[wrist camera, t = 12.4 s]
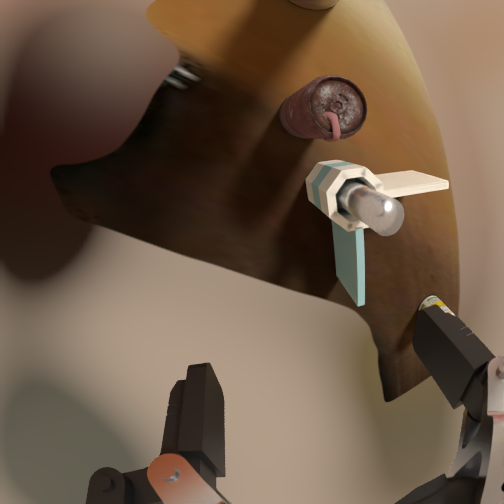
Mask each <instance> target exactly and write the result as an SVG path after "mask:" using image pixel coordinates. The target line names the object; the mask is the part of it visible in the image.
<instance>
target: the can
mask: <svg viewBox="0 0 504 504" xmlns="http://www.w3.org/2000/svg"><path fill="white" fill-rule="evenodd" d="M366 115H367V104H366V100H365V97H364V95H363V93H362V92H361V90H360V89H359V88H358V87H357V85H355V84H354V83H352V82H351V81H350V80H348V79H346V78H343V77H341V76H338V75H324V76H321V77H318V78H316V79H315V80H313V81H312V82H310V83H308V84H307V85H306V86H304V87H303V88H301V89H300V90H298V91H297V92H295V93H294V94H292V95H291V96H290V97H288V98H287V99H286V100H285V101H284V102H283V104H282V105H281V107H280V112H279V117H280V122H281V124H282V126H283V128H284V129H285V130H286V131H287V132H288V133H289V134H291V135H293V136H294V137H298V138H316V139H324V140H325V141H328V142H334V141H337V140H338V139H345V138H348V137H350V136H353V135H354V134H355V133H356V132H357V131H359V130H360V128H361V127H362V125H363V123H364V121H365V119H366Z"/></svg>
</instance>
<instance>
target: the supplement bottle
mask: <svg viewBox="0 0 504 504" xmlns="http://www.w3.org/2000/svg"><path fill="white" fill-rule="evenodd" d="M434 304H436V305H438V306H439V307H440V308H441V309H442V310H443V311H444V312H445V313H447V312H448V313H450V314H452V315H454V314H453V313H452V312H451V311H450V310H449V309H448V308H447V307H446V306H445V305H444V304H443V303H442V302H441V301H440V300H439V299H438V298H437V297H436V296H429V297H427V298H426V299H425V300H424V301H423V302H422V303H421V305H420V307H419V310H421V309H423V308H426V307H429V306H431V305H434ZM454 316H455V315H454Z"/></svg>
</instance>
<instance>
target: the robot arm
mask: <svg viewBox="0 0 504 504" xmlns="http://www.w3.org/2000/svg"><path fill="white" fill-rule="evenodd" d="M289 1H291V2H292V3H294V4H296V5H298V6H300V7H303V8H307V9H312V10H324V9H328V8H330V7H332V6H334V5H335V4H336V3H337V2H338V1H339V0H289ZM413 348H414V350H415V353H416V354H417V355H418V357H419V358H420V360H421V361H422V363H423V364H424V365H425V367H426V368H427V370H428V371H429V373H430V374H431V376H432V377H433V379H434V380H435V381H436V383H437V384H438V386H439V387H440V389H441V390H442V392H443V394H444V395H445V397H446V398H447V400H448V401H449V403H450V404H451V406H452V407H453V409H455V408H457V407H459V406H460V405H462V404H463V405H464V406H465V410H464V413H463V420H462V427H461V433H460V439H459V445H458V450H457V453H456V456H455V459H454V460H453V462H452V464H451V467H450V469H449V472H448V475H447V478H446V476H445V474H442V475H440V476H439V477H437V478H435V479H433V480H431V481H429V482H427V483H426V484H423V485H421V486H419V487H417V488H416V489H414V490H413V491H412V492H410V493H409V494H408V495H406V496H405V497H403V498H402V499H401V500H399V501H398V502H396V503H395V504H504V356H498V357H495V356H494V355H493V354H492V353H491V352H490V350H489V349H488V348H487V347H486V346H485V345H484V344H483V343H482V342H481V341H480V340H479V338H478V337H477V336H476V335H475V334H472V331H471V330H470V329H469V328H468V327H466V325H465V324H464V323H463V322H462V321H461V320H460V319H459V318H458V317H456V316H454V315H452V314H450V313H448V312H447V313H445V312H444V311H443V310H442V309H441V308H440V307H439V306H438V305H436V304H434V305H431V306H429V307H426V308H423V309H421V310H419V311H418V313H417V317H416V323H415V329H414V334H413ZM224 429H225V428H224V396H223V392H222V388H221V386H220V384H219V382H218V379H217V377H216V375H215V373H214V370H213V368H212V366H211V364H210V363H203V364H195V365H189V366H188V370H187V377H186V380H178V381H177V382H176V384H175V386H174V387H173V389H172V390H171V392H170V398H169V406H168V410H167V416H166V422H165V428H164V435H163V441H162V448H161V453H160V455H159V457H157V458H155V459H154V460H153V461H152V462H151V463H150V465H149V467H146V468H144V469H140V470H136V471H132V472H127V473H120V472H119V471H117V470H116V469H114V468H110V467H106V468H101V469H99V470H97V471H96V472H95V473H94V474H93V475H92V476H91V479H90V482H89V487H88V493H87V499H86V504H231V503H230V502H229V501H228V500H227V499H226V498H225V497H224V496H223V495H222V494H221V493H220V492H219V491H218V490H217V489H216V477H225V433H224V432H225V431H224Z"/></svg>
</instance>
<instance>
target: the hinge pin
mask: <svg viewBox="0 0 504 504" xmlns="http://www.w3.org/2000/svg"><path fill="white" fill-rule="evenodd" d="M335 195H336V203H337V205H339V206H340V207H342V208H343V209H345V210H346V211H348V212H349V213H350V214H352V215H353V216H355V217H356V218H358V219H359V220H360V221H362V222H363V223H364V224H366V225H367V226H369V227H370V228H371V229H373V230H374V231H375V232H377V233H378V234H380V235H382V236H390V235H392V234H394V233H396V232H397V231H398V230H399V228H400V227H401V225H402V223H403V220H404V209H403V207H402V205H401V203H400V202H399V201H398V200H396V199H394V198H392V197H389V196H387V195H385V194H383V193H380V192H378V191H376V190H373V189H371V188H369V187H366V186H364V185H362V184H359V183H357V182H354V181H352V180H349V179H346V180H345V182H344V183H343V184H342V186H341V187H340V189H339V190H338V192H337V193H336V194H335Z"/></svg>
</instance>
